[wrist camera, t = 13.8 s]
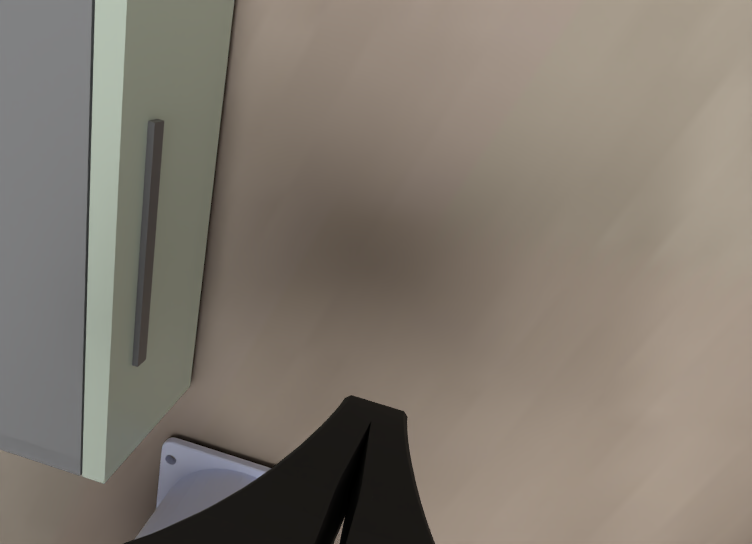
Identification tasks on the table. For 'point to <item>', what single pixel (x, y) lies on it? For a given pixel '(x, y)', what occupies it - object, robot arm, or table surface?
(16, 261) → the grey drawer box
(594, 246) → the table surface
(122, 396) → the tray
